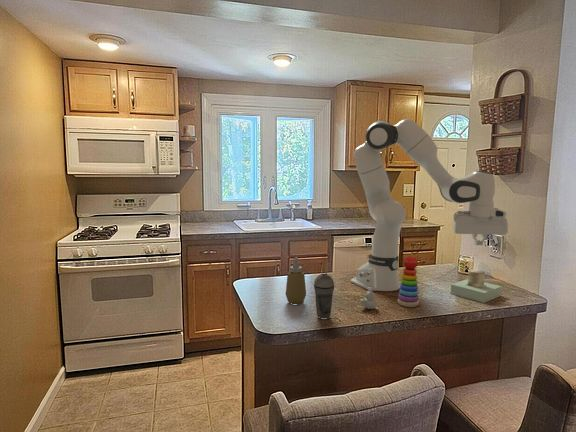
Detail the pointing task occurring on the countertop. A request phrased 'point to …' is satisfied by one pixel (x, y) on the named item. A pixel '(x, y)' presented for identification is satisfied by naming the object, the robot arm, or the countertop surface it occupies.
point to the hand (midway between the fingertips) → (478, 244)
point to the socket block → (476, 291)
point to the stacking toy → (409, 284)
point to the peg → (476, 278)
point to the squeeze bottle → (295, 284)
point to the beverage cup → (324, 294)
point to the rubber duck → (369, 300)
